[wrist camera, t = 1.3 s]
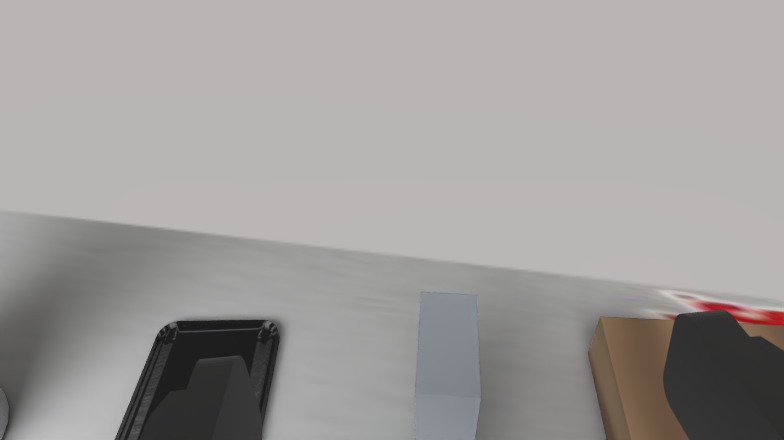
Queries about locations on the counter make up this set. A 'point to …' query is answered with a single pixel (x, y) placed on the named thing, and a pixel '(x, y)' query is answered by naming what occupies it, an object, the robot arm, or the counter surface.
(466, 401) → the domino
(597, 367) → the rack
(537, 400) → the counter surface
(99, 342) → the counter surface
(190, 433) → the robot arm
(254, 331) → the phone
